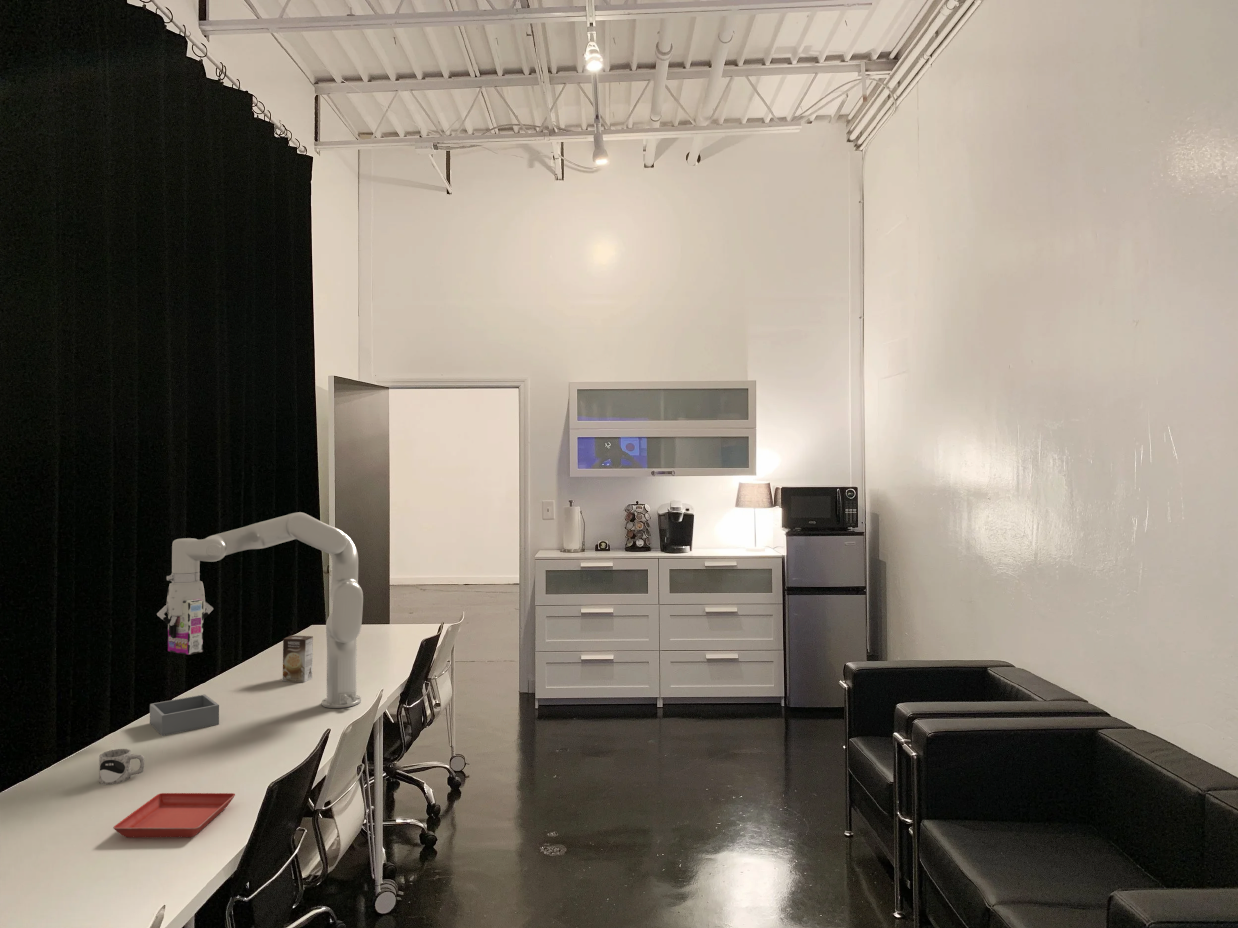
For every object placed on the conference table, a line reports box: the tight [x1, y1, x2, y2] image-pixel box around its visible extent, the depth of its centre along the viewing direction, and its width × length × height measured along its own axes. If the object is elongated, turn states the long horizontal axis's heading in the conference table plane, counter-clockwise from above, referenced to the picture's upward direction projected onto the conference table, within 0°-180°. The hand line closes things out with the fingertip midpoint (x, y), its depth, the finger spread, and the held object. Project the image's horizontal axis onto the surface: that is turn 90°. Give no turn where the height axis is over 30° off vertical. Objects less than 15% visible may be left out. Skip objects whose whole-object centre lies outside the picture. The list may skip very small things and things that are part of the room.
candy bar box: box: [167, 599, 204, 656], centre depth 241 cm, size 11×5×16 cm, turn 61°
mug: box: [98, 748, 145, 785], centre depth 198 cm, size 10×7×7 cm
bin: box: [149, 694, 220, 737], centre depth 241 cm, size 16×16×6 cm
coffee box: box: [282, 634, 314, 683], centre depth 292 cm, size 9×6×16 cm
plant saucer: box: [113, 792, 236, 839], centre depth 173 cm, size 18×18×3 cm
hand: (185, 635), depth 241 cm, fingers closed on candy bar box, 6 cm apart
